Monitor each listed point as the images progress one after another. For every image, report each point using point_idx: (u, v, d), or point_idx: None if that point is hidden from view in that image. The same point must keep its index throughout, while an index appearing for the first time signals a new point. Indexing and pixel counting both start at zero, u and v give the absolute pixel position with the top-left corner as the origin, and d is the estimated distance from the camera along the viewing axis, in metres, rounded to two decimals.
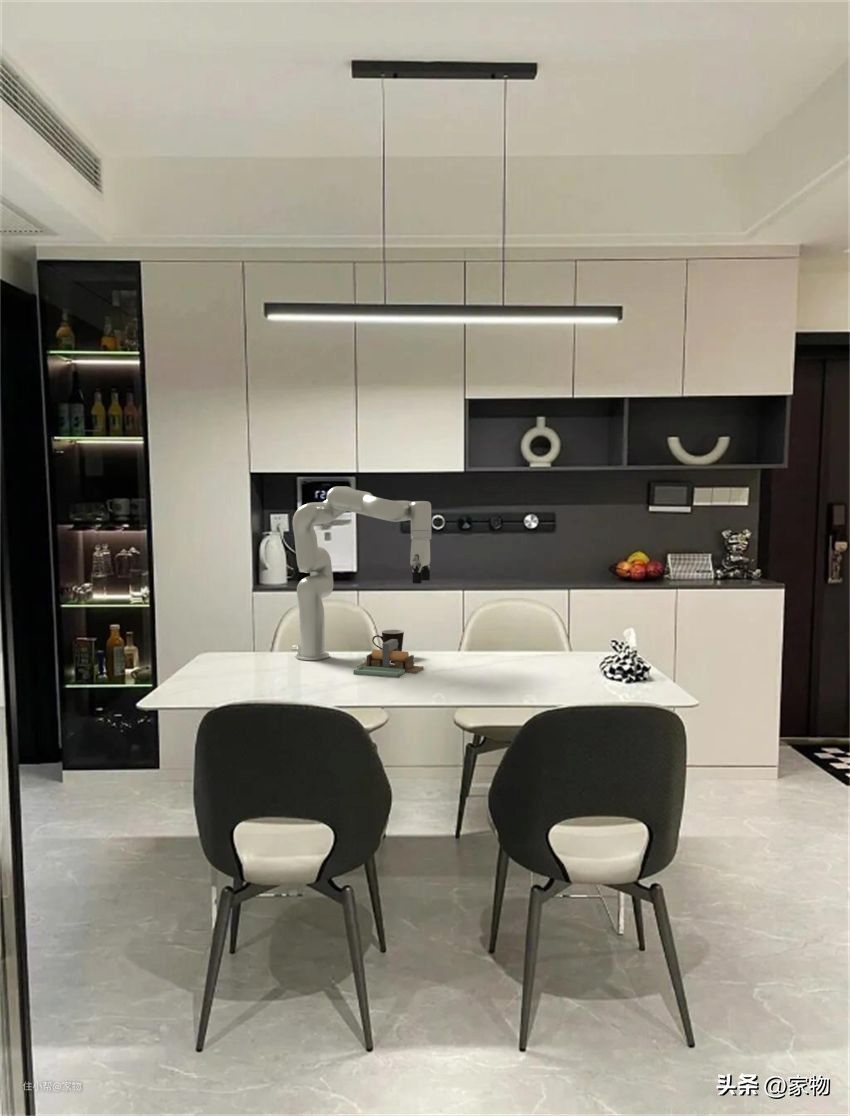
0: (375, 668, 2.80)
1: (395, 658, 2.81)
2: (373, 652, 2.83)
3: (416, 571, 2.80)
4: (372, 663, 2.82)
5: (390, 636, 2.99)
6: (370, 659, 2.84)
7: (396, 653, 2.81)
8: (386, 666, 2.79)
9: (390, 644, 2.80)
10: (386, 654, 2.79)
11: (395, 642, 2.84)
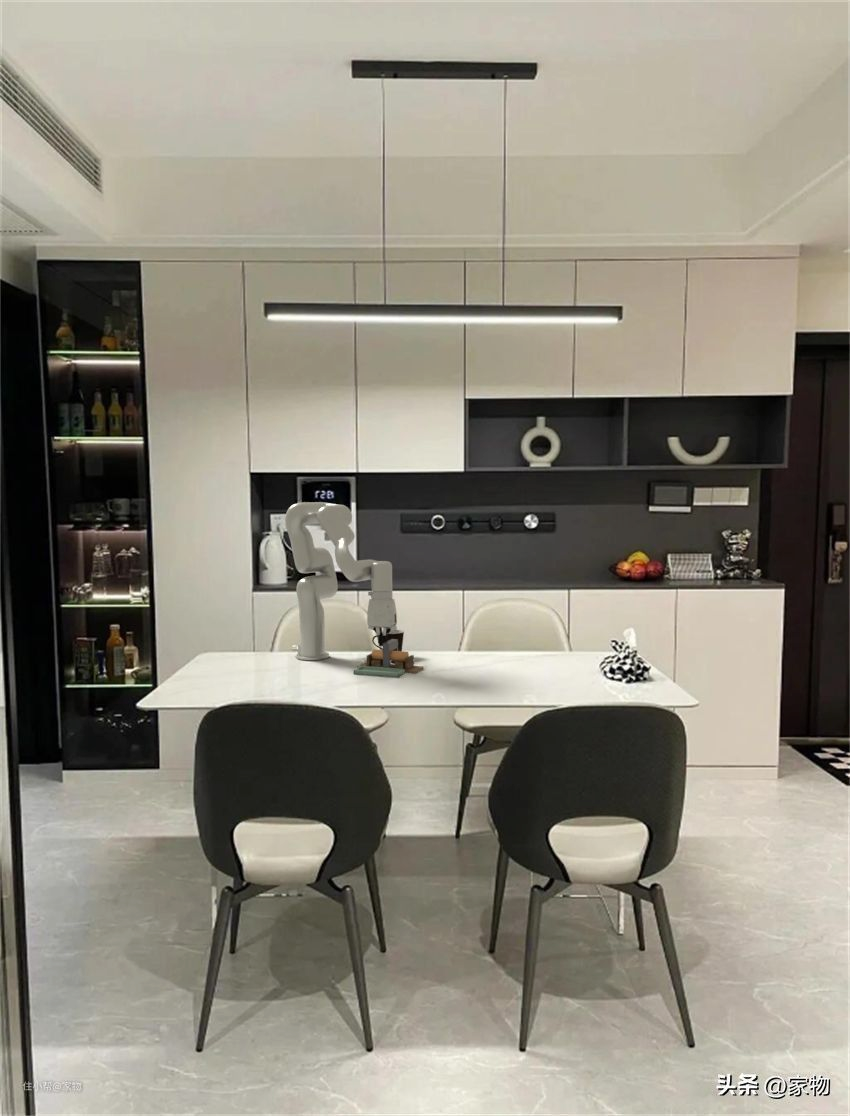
0: (375, 668, 2.80)
1: (395, 658, 2.81)
2: (373, 652, 2.83)
3: (387, 633, 2.83)
4: (372, 663, 2.82)
5: (390, 636, 2.99)
6: (370, 659, 2.84)
7: (396, 653, 2.81)
8: (386, 666, 2.79)
9: (390, 644, 2.80)
10: (386, 654, 2.79)
11: (395, 642, 2.84)
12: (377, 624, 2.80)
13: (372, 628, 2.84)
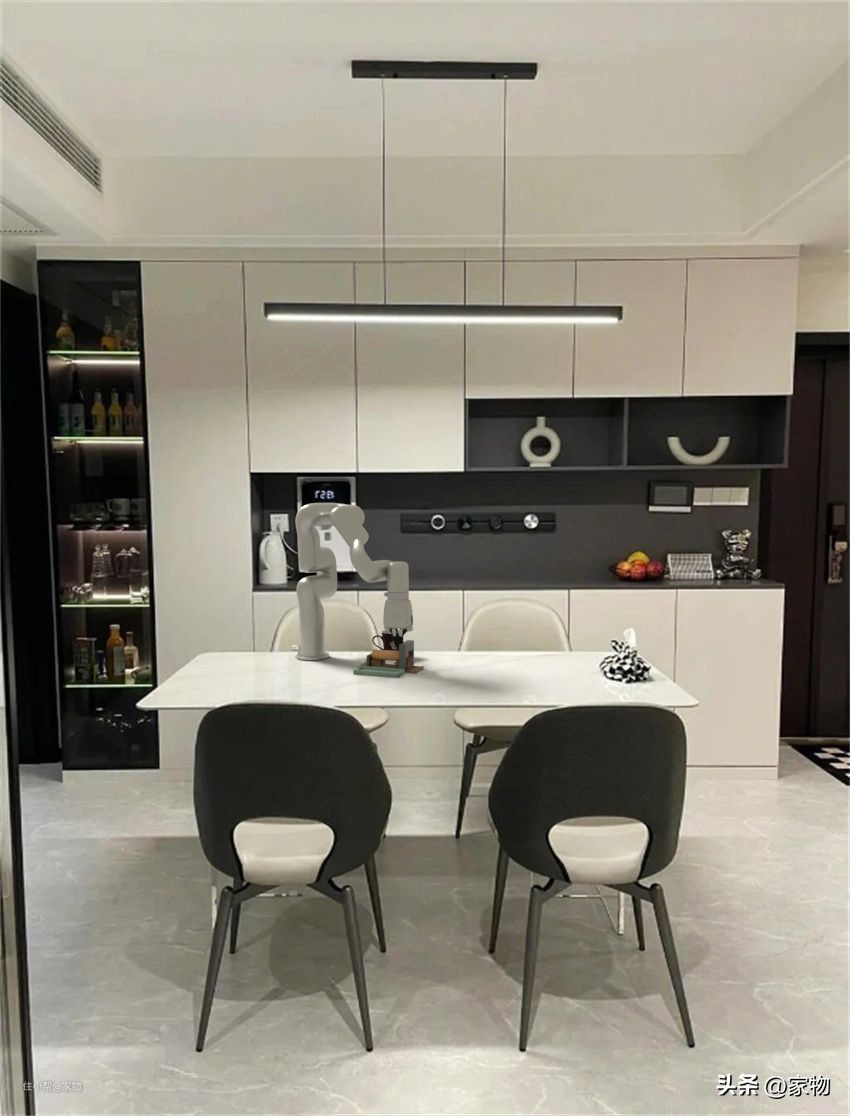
0: (375, 668, 2.80)
1: (395, 658, 2.81)
2: (373, 652, 2.83)
3: (403, 634, 2.81)
4: (372, 663, 2.82)
5: (390, 636, 2.99)
6: (370, 659, 2.84)
7: (396, 653, 2.81)
8: (403, 667, 2.77)
9: (407, 645, 2.78)
10: (403, 655, 2.77)
11: (412, 643, 2.82)
12: (393, 625, 2.78)
13: (388, 629, 2.82)
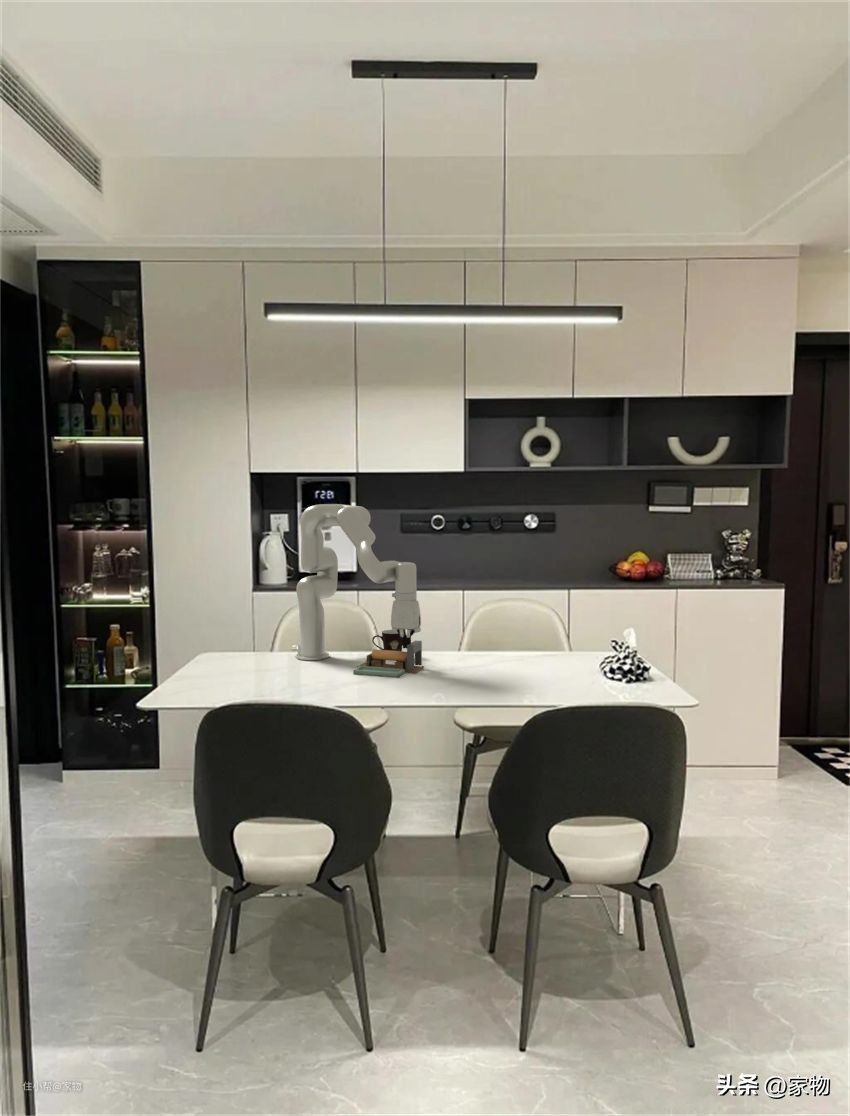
0: (375, 668, 2.80)
1: (395, 658, 2.81)
2: (373, 652, 2.83)
3: (411, 635, 2.80)
4: (372, 663, 2.82)
5: (390, 636, 2.99)
6: (370, 659, 2.84)
7: (396, 653, 2.81)
8: (411, 668, 2.76)
9: (415, 646, 2.77)
10: (411, 656, 2.76)
11: (419, 644, 2.81)
12: (401, 626, 2.78)
13: (396, 630, 2.81)
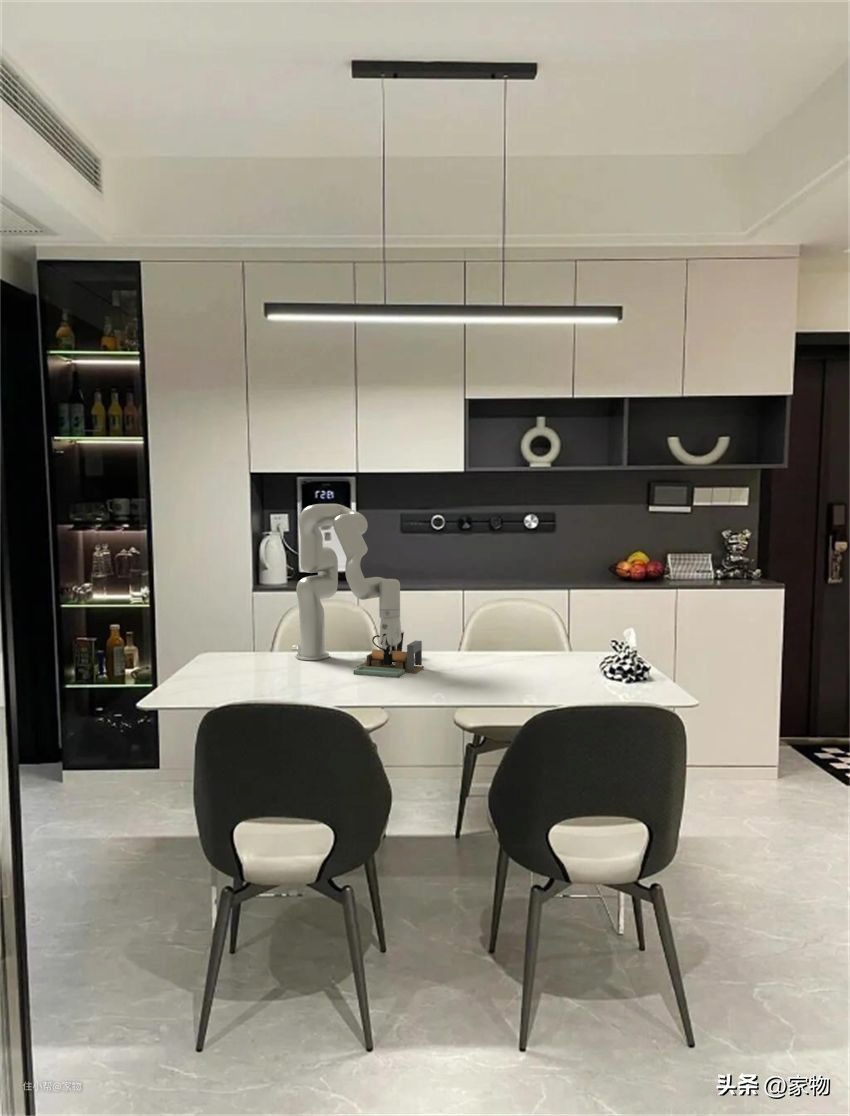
0: (375, 668, 2.80)
1: (395, 658, 2.81)
2: (373, 652, 2.83)
3: None
4: (372, 663, 2.82)
5: None
6: (370, 659, 2.84)
7: (396, 653, 2.81)
8: (411, 668, 2.76)
9: (415, 646, 2.77)
10: (411, 656, 2.76)
11: (419, 644, 2.81)
12: (396, 642, 2.81)
13: (386, 648, 2.78)
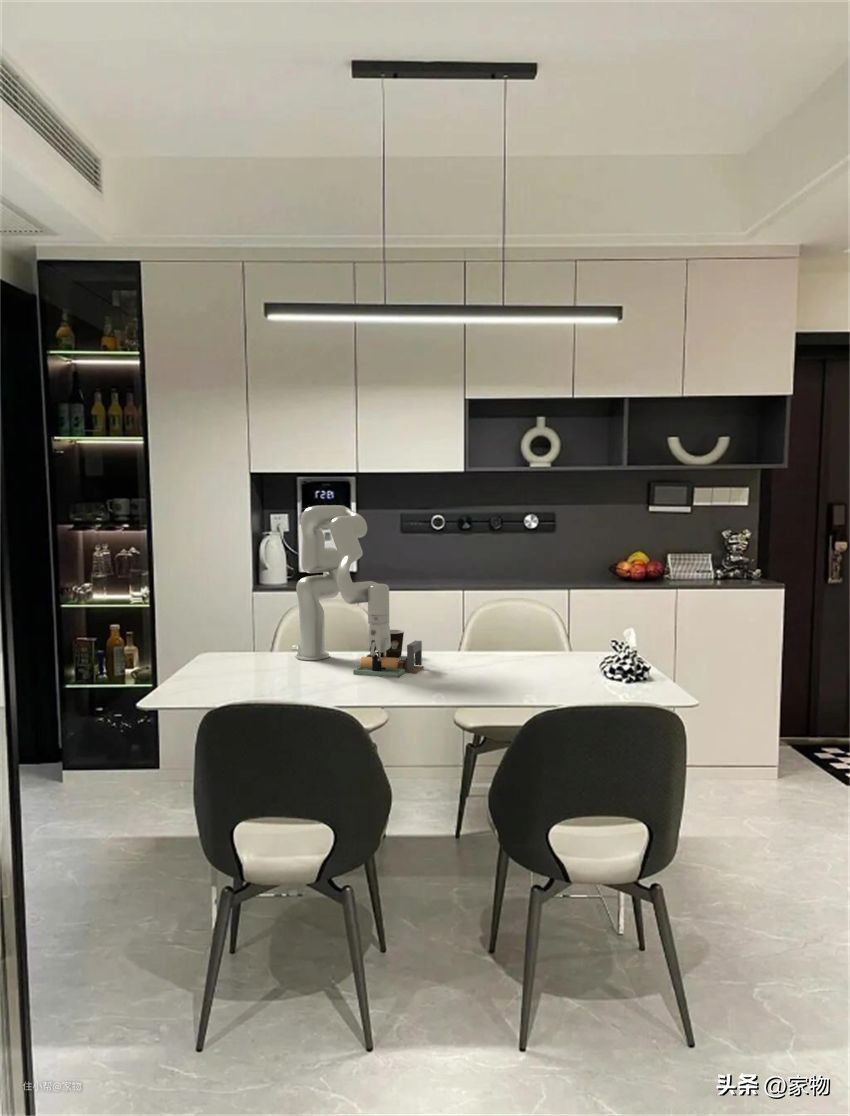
0: None
1: (385, 665, 2.73)
2: (362, 659, 2.76)
3: None
4: None
5: (390, 636, 2.99)
6: None
7: (385, 660, 2.74)
8: (411, 668, 2.76)
9: (415, 646, 2.77)
10: (411, 656, 2.76)
11: (419, 644, 2.81)
12: (385, 648, 2.74)
13: (374, 655, 2.70)
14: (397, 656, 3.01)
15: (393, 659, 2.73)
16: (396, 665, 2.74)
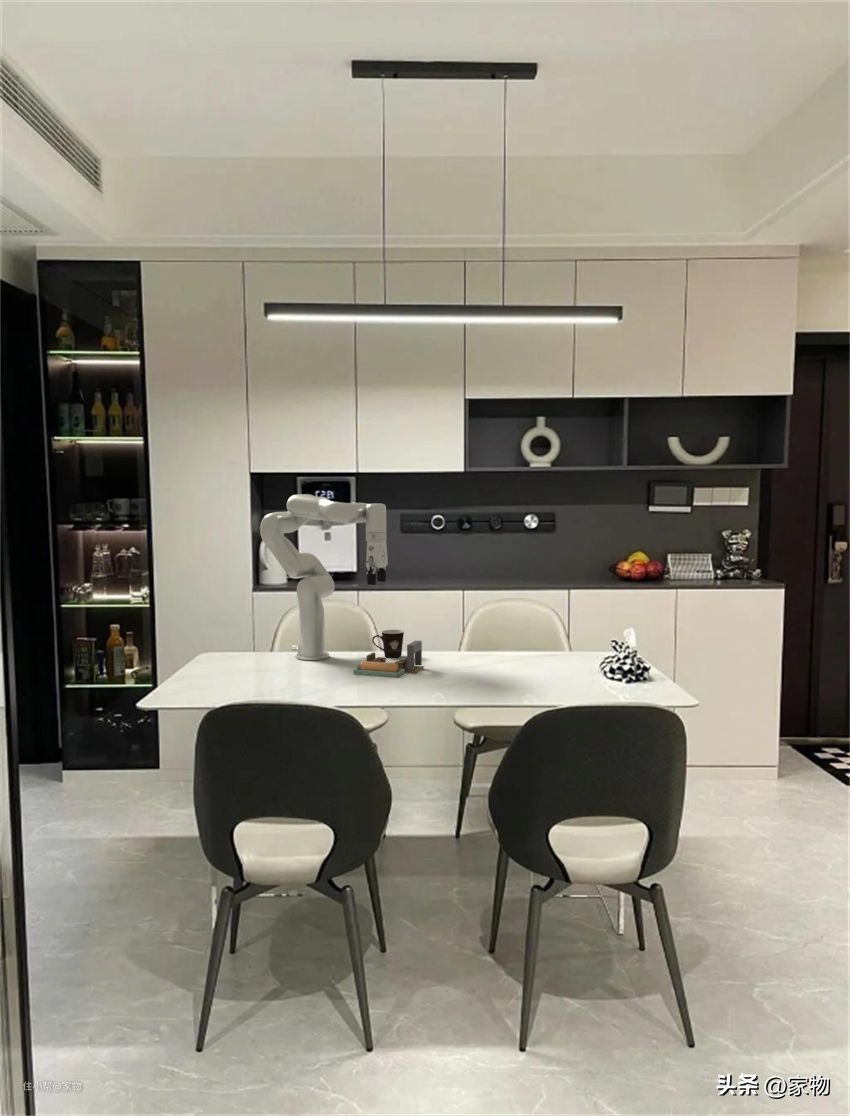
0: None
1: (385, 670, 2.74)
2: (362, 663, 2.77)
3: None
4: None
5: (390, 636, 2.99)
6: (370, 659, 2.84)
7: (386, 664, 2.74)
8: (411, 668, 2.76)
9: (415, 646, 2.77)
10: (411, 656, 2.76)
11: (419, 644, 2.81)
12: (382, 564, 2.88)
13: (369, 566, 2.82)
14: (397, 656, 3.01)
15: (394, 664, 2.73)
16: (396, 671, 2.74)
